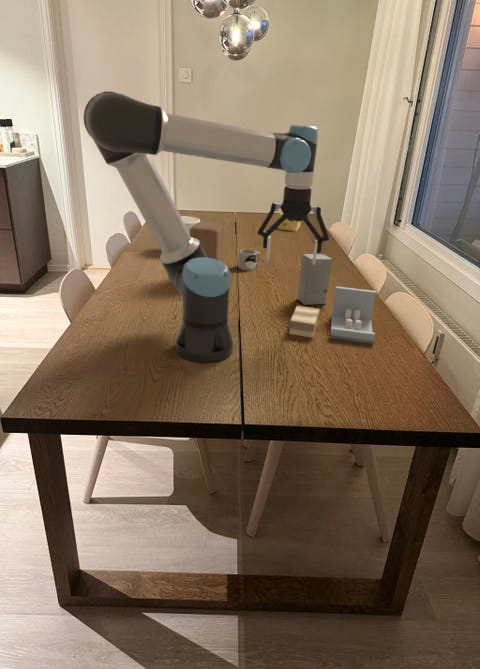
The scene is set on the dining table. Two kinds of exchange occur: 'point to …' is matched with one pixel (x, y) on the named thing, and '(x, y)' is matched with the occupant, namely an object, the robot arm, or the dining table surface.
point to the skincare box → (314, 279)
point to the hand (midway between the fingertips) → (290, 261)
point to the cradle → (352, 315)
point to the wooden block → (209, 238)
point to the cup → (189, 222)
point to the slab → (304, 321)
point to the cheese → (289, 224)
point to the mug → (248, 259)
